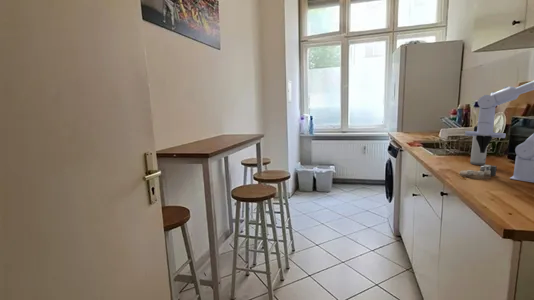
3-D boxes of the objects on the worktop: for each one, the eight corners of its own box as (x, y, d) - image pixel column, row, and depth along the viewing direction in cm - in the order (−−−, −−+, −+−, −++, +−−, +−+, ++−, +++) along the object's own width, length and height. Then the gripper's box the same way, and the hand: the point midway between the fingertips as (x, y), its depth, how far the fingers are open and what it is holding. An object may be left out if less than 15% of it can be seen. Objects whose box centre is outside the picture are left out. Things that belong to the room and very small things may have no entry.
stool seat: (493, 176, 124) (494, 169, 124) (485, 180, 118) (486, 173, 117) (464, 171, 133) (465, 165, 132) (455, 175, 126) (456, 168, 126)
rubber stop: (495, 174, 126) (496, 166, 125) (493, 175, 125) (495, 167, 124) (491, 174, 127) (492, 165, 127) (490, 175, 126) (491, 166, 125)
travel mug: (488, 165, 144) (493, 125, 141) (473, 165, 146) (478, 125, 142) (481, 162, 150) (486, 124, 147) (467, 162, 152) (471, 124, 148)
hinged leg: (485, 173, 123) (485, 167, 123) (479, 172, 125) (479, 166, 125) (491, 170, 127) (491, 164, 127) (485, 169, 129) (485, 164, 129)
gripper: (508, 122, 125) (504, 153, 127) (469, 121, 136) (466, 149, 138) (505, 123, 120) (501, 155, 123) (464, 122, 131) (461, 151, 133)
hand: (482, 152), depth 130 cm, fingers closed
